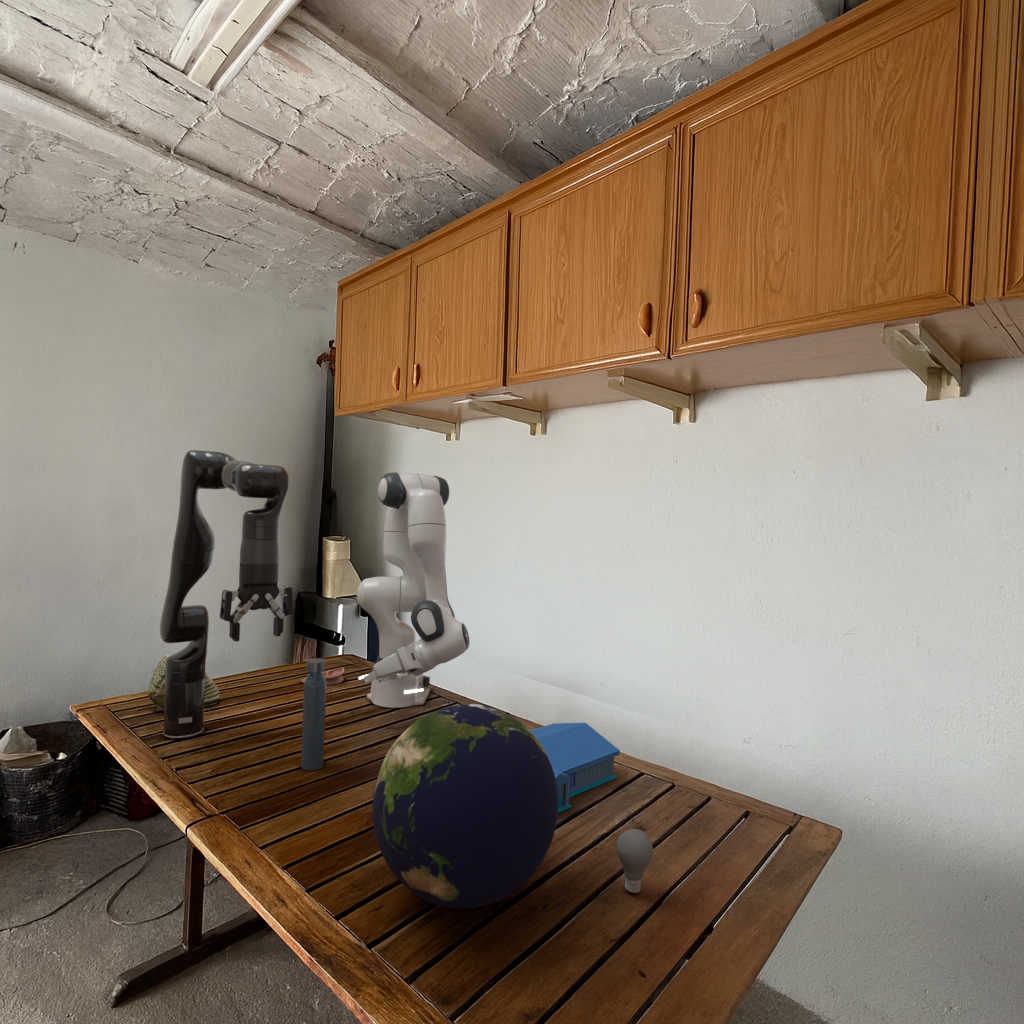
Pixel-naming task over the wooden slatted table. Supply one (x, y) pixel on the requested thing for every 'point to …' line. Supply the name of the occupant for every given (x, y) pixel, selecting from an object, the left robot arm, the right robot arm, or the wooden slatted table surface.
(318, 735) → the bottle
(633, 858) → the light bulb
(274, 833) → the wooden slatted table surface
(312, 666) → the cap
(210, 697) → the fossil
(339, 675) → the anatomical model
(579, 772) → the model building
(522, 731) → the globe
